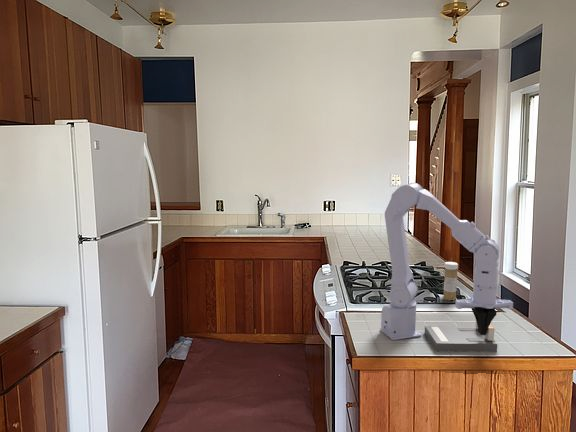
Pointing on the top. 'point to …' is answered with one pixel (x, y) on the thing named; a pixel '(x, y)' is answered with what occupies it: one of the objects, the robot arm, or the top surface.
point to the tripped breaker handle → (490, 333)
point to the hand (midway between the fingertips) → (482, 333)
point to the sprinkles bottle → (450, 280)
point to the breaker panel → (459, 339)
